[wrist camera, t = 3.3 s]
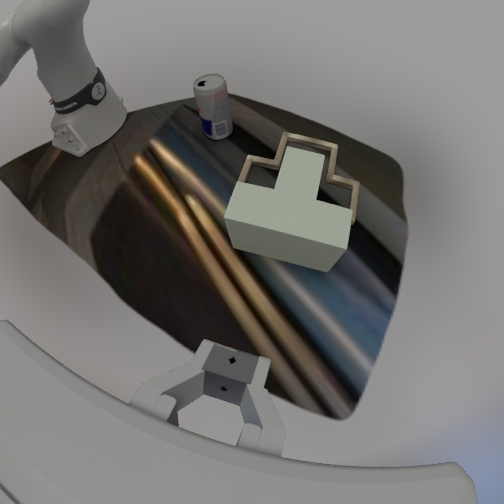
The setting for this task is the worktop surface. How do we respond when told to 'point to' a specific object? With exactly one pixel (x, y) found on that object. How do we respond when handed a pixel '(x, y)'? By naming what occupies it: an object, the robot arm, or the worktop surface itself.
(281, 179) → the T block
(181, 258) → the worktop surface
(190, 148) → the worktop surface
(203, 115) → the energy drink
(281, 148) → the T guide
